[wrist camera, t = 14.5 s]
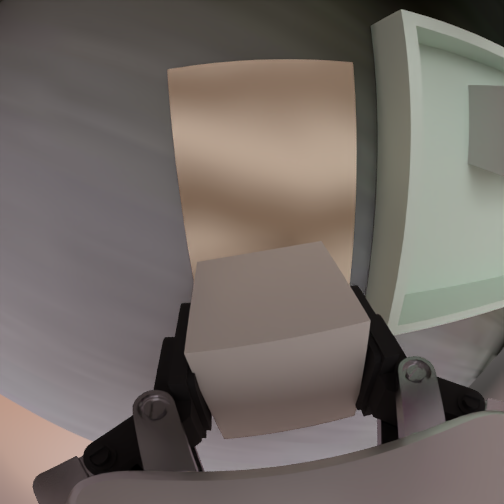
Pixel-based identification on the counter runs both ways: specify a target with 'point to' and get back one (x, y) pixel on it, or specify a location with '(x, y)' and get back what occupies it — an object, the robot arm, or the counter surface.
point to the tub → (432, 177)
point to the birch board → (265, 156)
